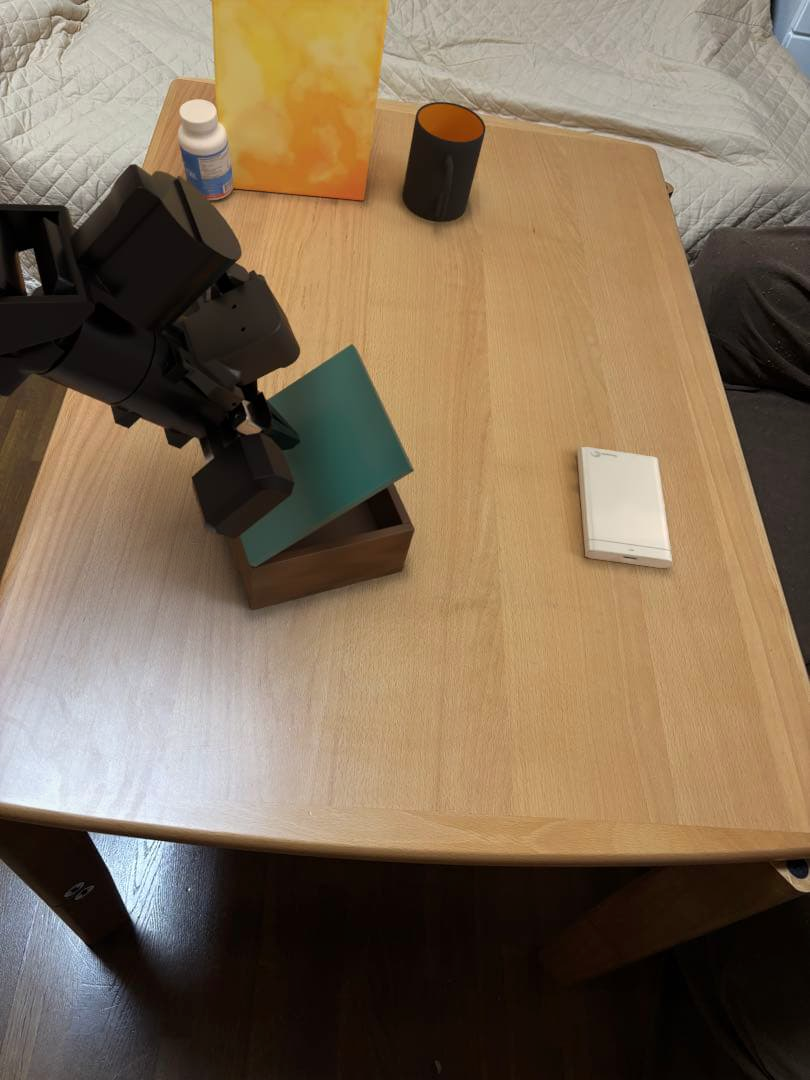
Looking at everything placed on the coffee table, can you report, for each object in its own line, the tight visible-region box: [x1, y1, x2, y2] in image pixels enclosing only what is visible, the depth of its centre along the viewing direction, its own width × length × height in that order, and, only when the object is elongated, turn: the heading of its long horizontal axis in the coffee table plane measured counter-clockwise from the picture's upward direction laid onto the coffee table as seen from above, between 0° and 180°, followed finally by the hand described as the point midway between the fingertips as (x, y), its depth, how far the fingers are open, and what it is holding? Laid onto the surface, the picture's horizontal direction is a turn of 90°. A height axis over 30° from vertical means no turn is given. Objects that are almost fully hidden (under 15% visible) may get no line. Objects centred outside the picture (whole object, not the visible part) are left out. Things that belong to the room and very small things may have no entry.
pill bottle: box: [177, 98, 234, 201], centre depth 91 cm, size 6×5×10 cm
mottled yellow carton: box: [211, 0, 390, 201], centre depth 90 cm, size 18×12×24 cm
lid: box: [240, 343, 415, 567], centre depth 62 cm, size 14×13×1 cm
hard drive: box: [576, 446, 673, 569], centre depth 78 cm, size 2×8×12 cm
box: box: [229, 483, 416, 611], centre depth 68 cm, size 14×13×7 cm
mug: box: [401, 101, 486, 222], centre depth 96 cm, size 8×12×10 cm
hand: (295, 441), depth 60 cm, fingers closed
